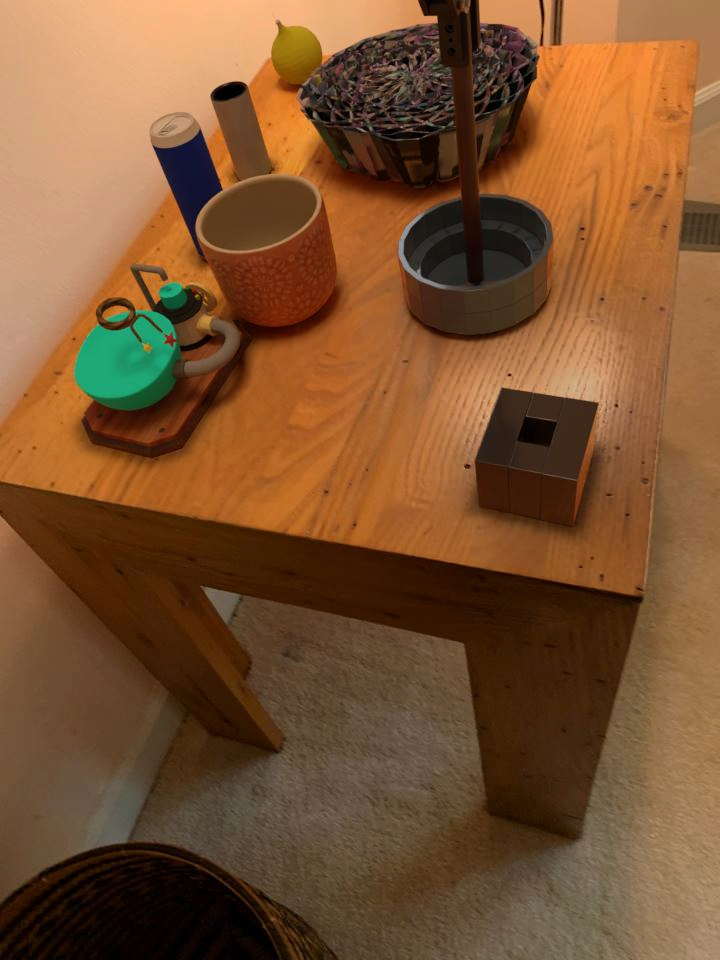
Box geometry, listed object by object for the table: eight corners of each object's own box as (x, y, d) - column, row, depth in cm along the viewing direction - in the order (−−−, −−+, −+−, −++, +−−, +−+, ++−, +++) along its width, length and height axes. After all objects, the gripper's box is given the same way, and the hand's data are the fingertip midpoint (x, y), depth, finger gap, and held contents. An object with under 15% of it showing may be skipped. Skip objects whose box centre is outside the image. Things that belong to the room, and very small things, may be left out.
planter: (286, 360, 73) (253, 270, 64) (207, 315, 79) (168, 228, 70) (370, 287, 77) (350, 193, 68) (289, 250, 83) (261, 160, 75)
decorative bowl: (500, 228, 82) (504, 144, 73) (276, 194, 90) (258, 115, 82) (555, 103, 94) (564, 19, 86) (355, 83, 102) (346, 4, 94)
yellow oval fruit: (275, 97, 105) (254, 21, 97) (283, 72, 109) (263, -3, 101) (324, 90, 103) (307, 13, 96) (330, 65, 108) (314, -11, 100)
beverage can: (219, 231, 88) (171, 106, 76) (251, 241, 86) (206, 114, 74) (190, 257, 86) (136, 133, 74) (222, 268, 83) (171, 142, 72)
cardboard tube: (250, 186, 92) (223, 105, 84) (230, 175, 95) (202, 95, 87) (278, 168, 94) (255, 86, 85) (258, 157, 96) (233, 77, 88)
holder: (593, 451, 60) (598, 402, 55) (573, 526, 56) (577, 480, 52) (503, 435, 63) (501, 386, 58) (478, 506, 59) (474, 460, 54)
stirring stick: (486, 274, 73) (470, -23, 52) (481, 285, 72) (463, -13, 51) (470, 272, 73) (448, -22, 53) (465, 283, 73) (441, -12, 52)
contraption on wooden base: (281, 330, 76) (234, 198, 64) (195, 468, 67) (122, 345, 55) (167, 312, 81) (104, 187, 69) (74, 438, 72) (-18, 320, 60)
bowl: (565, 251, 75) (568, 198, 70) (530, 350, 68) (531, 299, 63) (431, 239, 80) (425, 189, 75) (386, 330, 73) (376, 281, 68)
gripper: (469, -229, 38) (484, 107, 51) (535, -301, 44) (533, 12, 58) (335, -210, 40) (384, 105, 54) (417, -281, 47) (442, 14, 61)
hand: (461, 56), depth 56 cm, fingers closed on stirring stick, 1 cm apart
